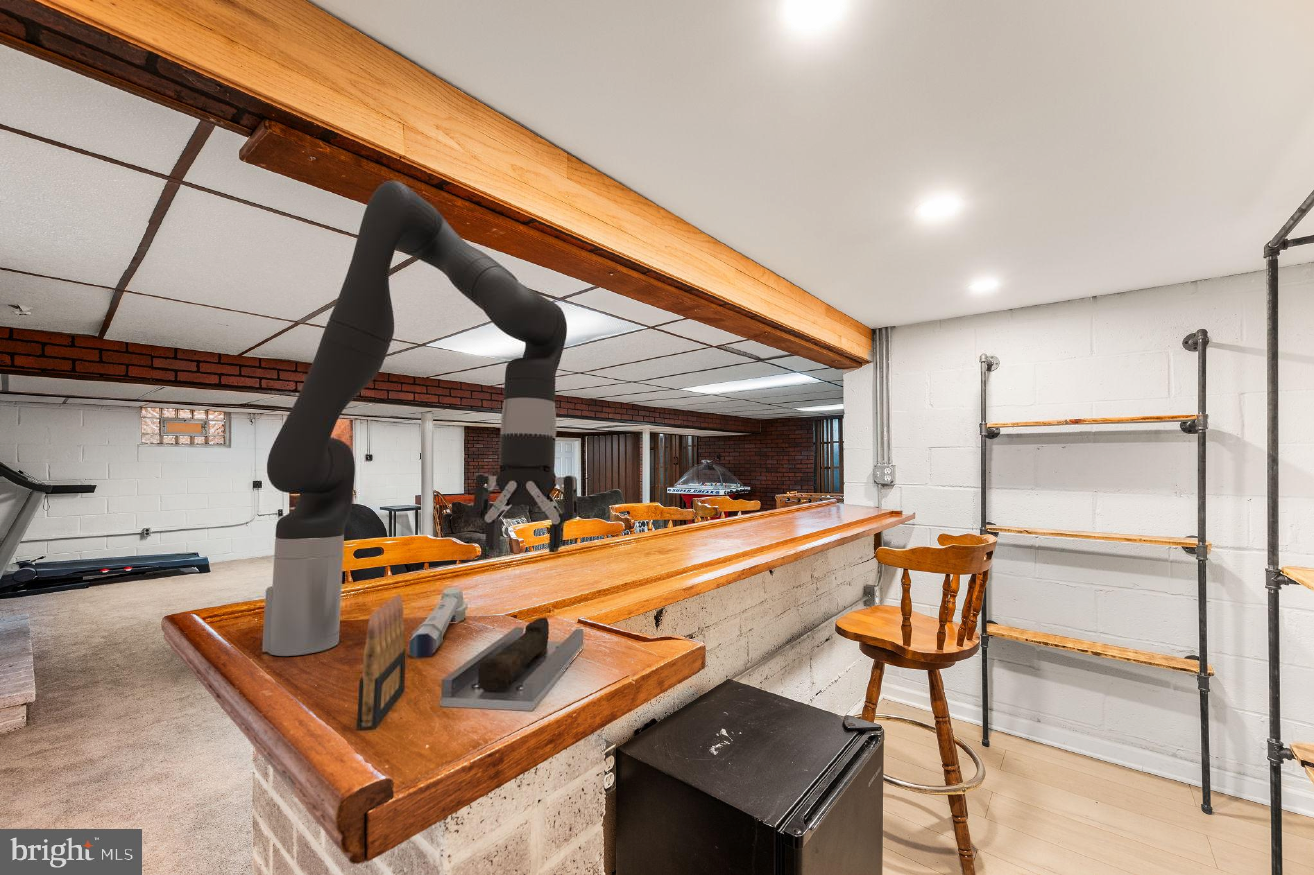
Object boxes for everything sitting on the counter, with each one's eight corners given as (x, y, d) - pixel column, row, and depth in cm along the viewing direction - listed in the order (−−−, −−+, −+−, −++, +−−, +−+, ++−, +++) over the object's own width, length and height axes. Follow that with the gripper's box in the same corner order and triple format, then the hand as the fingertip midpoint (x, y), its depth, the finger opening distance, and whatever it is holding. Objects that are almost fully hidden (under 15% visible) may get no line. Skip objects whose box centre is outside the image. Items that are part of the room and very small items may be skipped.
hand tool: (507, 694, 63) (508, 653, 63) (475, 692, 64) (477, 651, 64) (563, 647, 81) (564, 615, 82) (539, 645, 82) (539, 614, 83)
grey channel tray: (440, 706, 62) (441, 679, 62) (515, 646, 85) (515, 627, 85) (532, 711, 61) (533, 683, 61) (583, 649, 83) (583, 629, 84)
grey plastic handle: (402, 633, 79) (441, 580, 103) (402, 678, 79) (441, 614, 104) (440, 632, 79) (469, 579, 104) (440, 675, 80) (469, 612, 104)
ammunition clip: (388, 691, 66) (392, 592, 67) (404, 690, 67) (408, 592, 68) (356, 730, 56) (361, 612, 57) (375, 729, 56) (380, 612, 57)
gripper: (467, 430, 72) (461, 552, 71) (570, 431, 71) (566, 556, 69) (491, 435, 80) (486, 546, 78) (584, 436, 78) (581, 549, 77)
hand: (524, 550), depth 74 cm, fingers open, 8 cm apart
